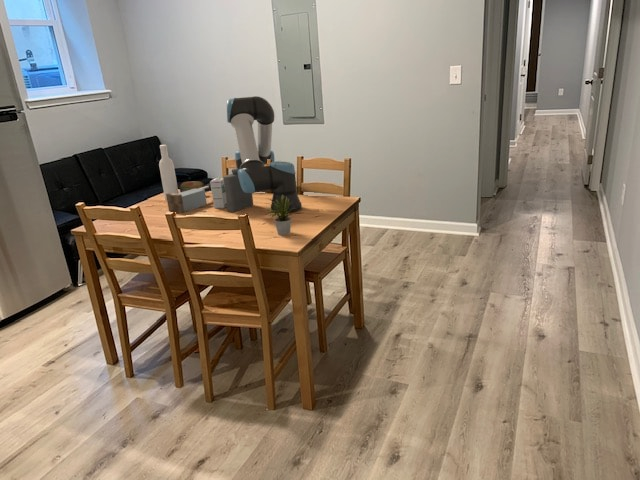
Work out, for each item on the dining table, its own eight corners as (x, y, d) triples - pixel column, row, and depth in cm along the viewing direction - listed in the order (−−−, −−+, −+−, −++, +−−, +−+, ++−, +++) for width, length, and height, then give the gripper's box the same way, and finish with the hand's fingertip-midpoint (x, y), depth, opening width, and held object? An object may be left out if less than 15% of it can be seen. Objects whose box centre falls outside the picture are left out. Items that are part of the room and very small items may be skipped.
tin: (180, 196, 288) (178, 182, 285) (183, 195, 290) (180, 181, 288) (204, 196, 284) (202, 181, 281) (207, 195, 287) (204, 180, 284)
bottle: (161, 199, 283) (152, 146, 273) (170, 196, 290) (161, 143, 280) (173, 200, 280) (164, 146, 270) (182, 196, 287) (173, 143, 277)
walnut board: (184, 211, 255) (181, 194, 252) (181, 212, 254) (178, 195, 251) (172, 209, 261) (169, 192, 258) (168, 210, 259) (165, 193, 256)
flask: (248, 204, 261) (243, 165, 254) (255, 205, 257) (251, 166, 250) (224, 211, 251) (219, 171, 245) (231, 212, 247) (226, 172, 241)
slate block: (206, 204, 266) (204, 189, 264) (184, 211, 255) (181, 196, 253) (196, 202, 271) (194, 188, 268) (174, 210, 260) (171, 195, 257)
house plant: (266, 228, 219) (262, 192, 213) (298, 225, 219) (295, 189, 214) (265, 239, 205) (261, 200, 200) (299, 236, 206) (296, 197, 200)
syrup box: (224, 208, 256) (220, 180, 252) (213, 208, 258) (209, 180, 253) (228, 205, 262) (224, 177, 257) (217, 205, 263) (214, 178, 258)
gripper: (240, 188, 282) (208, 199, 265) (224, 186, 290) (192, 196, 272) (239, 175, 279) (206, 185, 262) (223, 173, 287) (190, 183, 270)
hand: (199, 191), depth 267 cm, fingers closed
